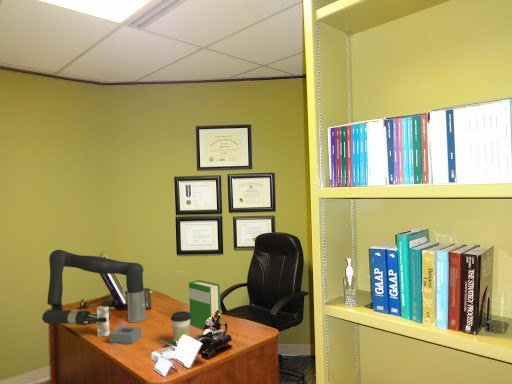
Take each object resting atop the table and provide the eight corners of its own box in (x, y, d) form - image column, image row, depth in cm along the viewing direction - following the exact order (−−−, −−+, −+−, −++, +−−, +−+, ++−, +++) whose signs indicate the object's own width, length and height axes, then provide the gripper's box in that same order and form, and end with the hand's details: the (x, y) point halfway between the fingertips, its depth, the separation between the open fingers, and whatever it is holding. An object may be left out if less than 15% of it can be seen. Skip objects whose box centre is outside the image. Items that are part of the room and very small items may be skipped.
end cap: (109, 343, 190) (109, 333, 190) (120, 335, 200) (120, 326, 200) (131, 344, 187) (131, 334, 187) (141, 336, 197) (141, 327, 197)
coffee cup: (191, 348, 181) (190, 317, 181) (170, 349, 181) (169, 318, 180) (192, 339, 191) (191, 310, 191) (173, 341, 190) (172, 311, 190)
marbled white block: (97, 336, 200) (96, 308, 200) (101, 334, 203) (100, 306, 203) (106, 336, 199) (105, 308, 199) (109, 334, 202) (108, 306, 202)
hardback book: (221, 328, 206) (219, 284, 206) (210, 332, 201) (209, 287, 201) (200, 321, 218) (199, 279, 218) (190, 324, 213) (188, 282, 212)
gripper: (70, 314, 197) (99, 316, 193) (87, 306, 210) (115, 307, 207) (70, 329, 197) (100, 330, 193) (87, 319, 211) (115, 321, 207)
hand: (107, 318), depth 200 cm, fingers closed on marbled white block, 3 cm apart
